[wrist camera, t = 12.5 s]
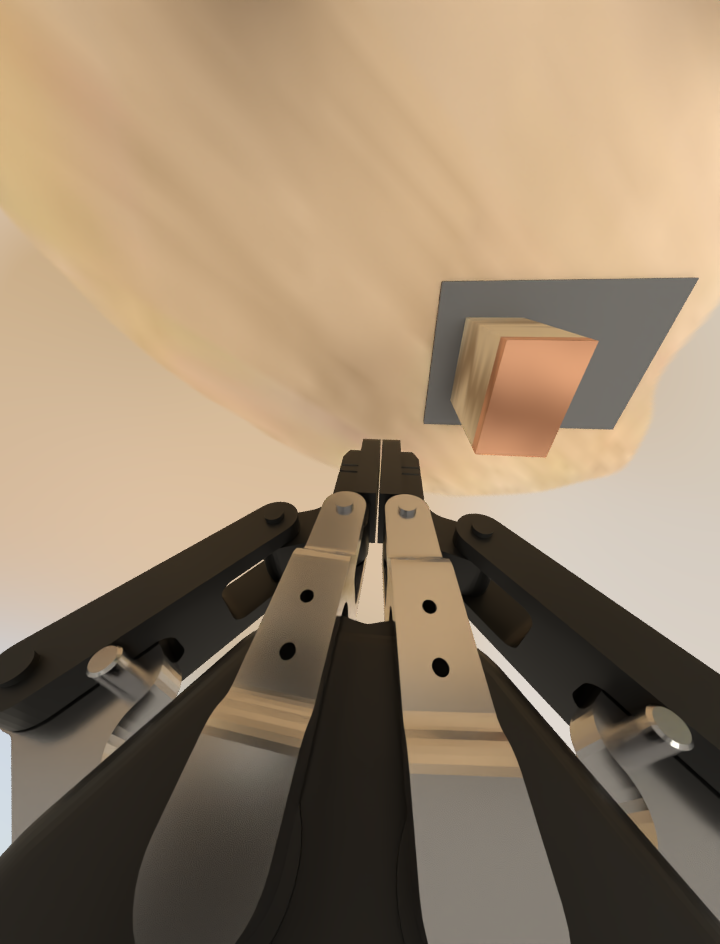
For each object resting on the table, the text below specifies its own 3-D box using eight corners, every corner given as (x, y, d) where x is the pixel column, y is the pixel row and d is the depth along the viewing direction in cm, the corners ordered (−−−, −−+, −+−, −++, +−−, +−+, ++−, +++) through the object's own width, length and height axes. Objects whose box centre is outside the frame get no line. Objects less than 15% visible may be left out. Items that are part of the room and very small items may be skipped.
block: (465, 317, 23) (506, 339, 14) (523, 317, 22) (598, 341, 14) (450, 400, 27) (475, 454, 18) (498, 401, 26) (545, 457, 18)
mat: (441, 281, 22) (442, 281, 21) (694, 277, 20) (699, 277, 20) (423, 422, 29) (423, 423, 28) (610, 427, 27) (612, 429, 27)
